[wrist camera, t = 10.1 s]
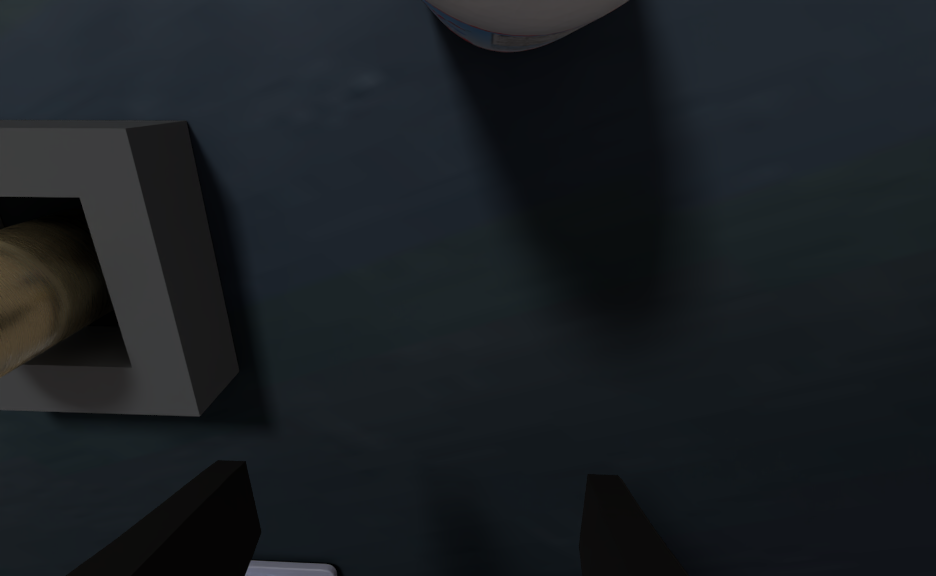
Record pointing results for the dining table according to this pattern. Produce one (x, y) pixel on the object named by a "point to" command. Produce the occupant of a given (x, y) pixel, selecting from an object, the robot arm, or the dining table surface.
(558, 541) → the dining table surface
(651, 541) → the robot arm
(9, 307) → the brass cylinder
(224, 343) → the coupling block
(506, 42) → the pill bottle
